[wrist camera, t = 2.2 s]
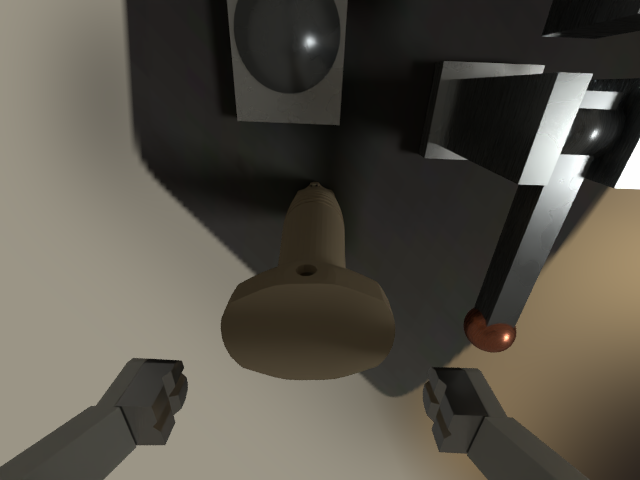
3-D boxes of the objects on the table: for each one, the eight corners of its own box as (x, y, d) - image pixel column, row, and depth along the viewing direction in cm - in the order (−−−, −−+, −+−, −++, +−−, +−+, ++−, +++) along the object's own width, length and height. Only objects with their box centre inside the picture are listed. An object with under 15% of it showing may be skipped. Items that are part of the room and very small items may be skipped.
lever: (592, -140, 10) (754, -276, 7) (669, -135, 10) (875, -268, 7) (447, 319, 20) (476, 373, 17) (486, 320, 21) (525, 375, 17)
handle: (274, 171, 23) (209, 285, 10) (355, 169, 23) (402, 282, 10) (279, 226, 25) (232, 380, 12) (353, 225, 25) (389, 379, 12)
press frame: (227, -71, 17) (88, -306, 7) (568, -53, 17) (921, -255, 7) (244, 147, 22) (183, 195, 12) (500, 157, 22) (643, 212, 13)
